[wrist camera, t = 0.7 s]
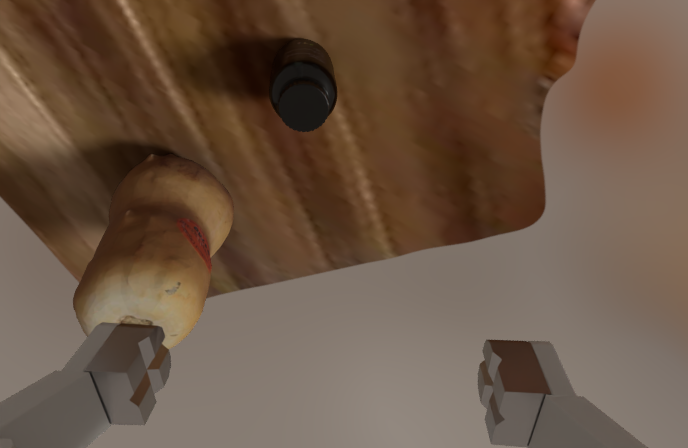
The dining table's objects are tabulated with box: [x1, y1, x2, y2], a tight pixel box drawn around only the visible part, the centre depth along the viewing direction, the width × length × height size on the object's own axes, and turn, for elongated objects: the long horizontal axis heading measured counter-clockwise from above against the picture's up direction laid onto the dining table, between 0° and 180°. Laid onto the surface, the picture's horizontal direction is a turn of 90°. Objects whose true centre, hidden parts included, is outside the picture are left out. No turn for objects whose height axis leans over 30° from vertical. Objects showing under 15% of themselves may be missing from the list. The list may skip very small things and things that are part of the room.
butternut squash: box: [73, 154, 234, 349], centre depth 49 cm, size 14×13×25 cm
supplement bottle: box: [269, 39, 337, 132], centre depth 47 cm, size 7×7×12 cm
